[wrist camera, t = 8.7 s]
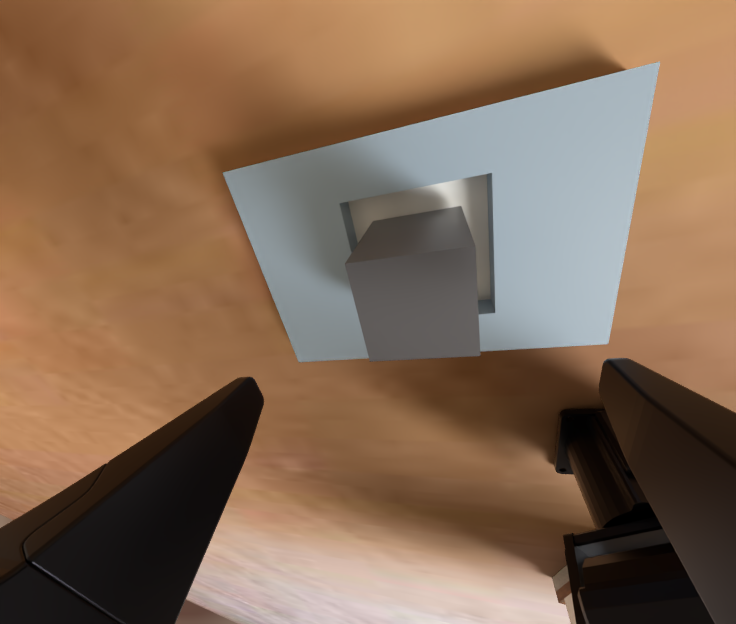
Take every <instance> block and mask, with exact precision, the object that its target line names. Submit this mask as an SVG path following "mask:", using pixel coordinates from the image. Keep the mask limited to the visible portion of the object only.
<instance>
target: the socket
mask: <svg viewBox="0 0 736 624" xmlns="http://www.w3.org/2000/svg"><path fill="white" fill-rule="evenodd" d="M659 65H660V62H656V63H652V64H648V65H644V66H641V67H637V68H633V69H629V70H625V71H621V72H617V73H613V74H609V75H605V76H601V77H597V78H593V79H589V80H585V81H581V82H577V83H574V84H570V85H566V86H562V87H558V88H554V89H550V90H546V91H542V92H538V93H534V94H530V95H526V96H522V97H518V98H514V99H510V100H506V101H503V102H499V103H495V104H491V105H487V106H483V107H479V108H475V109H471V110H467V111H463V112H459V113H455V114H451V115H447V116H443V117H439V118H435V119H432V120H428V121H424V122H420V123H416V124H412V125H408V126H404V127H400V128H396V129H392V130H388V131H384V132H380V133H376V134H372V135H368V136H364V137H361V138H357V139H353V140H349V141H345V142H341V143H337V144H333V145H329V146H325V147H321V148H317V149H313V150H309V151H305V152H301V153H297V154H294V155H290V156H286V157H282V158H278V159H274V160H270V161H266V162H262V163H258V164H254V165H250V166H246V167H242V168H238V169H234V170H230V171H226V172H223V175H224V177H225V180H226V182H227V185H228V187H229V190H230V192H231V195H232V197H233V200H234V202H235V205H236V207H237V210H238V212H239V215H240V217H241V220H242V222H243V225H244V227H245V230H246V232H247V235H248V237H249V240H250V242H251V245H252V247H253V250H254V252H255V255H256V257H257V260H258V262H259V265H260V267H261V270H262V272H263V275H264V277H265V280H266V282H267V285H268V287H269V290H270V292H271V295H272V297H273V299H274V302H275V304H276V307H277V309H278V312H279V314H280V317H281V319H282V322H283V324H284V327H285V329H286V332H287V334H288V337H289V339H290V342H291V344H292V347H293V349H294V352H295V354H296V357H297V359H298V362H312V361H329V360H346V359H363V358H369V356H368V352H367V348H366V345H365V341H364V337H363V333H362V329H361V325H360V321H359V317H358V313H357V310H356V306H355V302H354V298H353V294H352V290H351V286H350V282H349V279H348V275H347V271H346V267H345V263H346V261H347V260H348V258H349V257H350V255H351V253H352V252H353V250H354V249H355V247H356V246H357V244H358V243H359V241H360V240H361V238H362V237H363V235H364V234H365V232H366V231H367V229H368V228H369V226H370V225H371V223H372V222H373V221H376V220H382V219H387V218H393V217H399V216H405V215H411V214H417V213H422V212H428V211H434V210H440V209H446V208H451V207H457V206H461V207H462V210H463V212H464V215H465V218H466V221H467V224H468V226H469V229H470V232H471V235H472V237H473V240H474V243H475V246H476V268H477V290H478V312H479V334H480V352H481V351H498V350H515V349H532V348H549V347H566V346H583V345H599V344H608V342H609V337H610V332H611V326H612V321H613V315H614V310H615V304H616V299H617V293H618V288H619V283H620V277H621V272H622V266H623V261H624V255H625V250H626V244H627V239H628V234H629V228H630V223H631V217H632V212H633V206H634V201H635V195H636V190H637V185H638V179H639V174H640V168H641V163H642V157H643V152H644V146H645V141H646V136H647V130H648V125H649V119H650V114H651V108H652V103H653V97H654V92H655V87H656V81H657V76H658V70H659Z"/></svg>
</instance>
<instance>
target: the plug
mask: <svg viewBox="0 0 736 624" xmlns="http://www.w3.org/2000/svg"><path fill="white" fill-rule="evenodd" d="M345 267H346V271H347V275H348V279H349V282H350V286H351V290H352V294H353V298H354V302H355V306H356V310H357V313H358V317H359V321H360V325H361V329H362V333H363V337H364V341H365V345H366V348H367V352H368V356H369V360H370V362H371V361H391V360H410V359H430V358H450V357H469V356H480V334H479V312H478V290H477V268H476V246H475V243H474V240H473V237H472V235H471V232H470V229H469V226H468V224H467V221H466V218H465V215H464V212H463V210H462V207H461V206H457V207H451V208H446V209H440V210H434V211H428V212H422V213H417V214H411V215H405V216H399V217H393V218H387V219H382V220H376V221H373V222H372V223H371V225H370V226H369V228H368V229H367V231H366V232H365V234H364V235H363V237H362V238H361V240H360V241H359V243H358V244H357V246H356V247H355V249H354V250H353V252H352V253H351V255H350V257H349V258H348V260H347V261H346V263H345Z"/></svg>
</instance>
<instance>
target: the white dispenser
mask: <svg viewBox="0 0 736 624" xmlns="http://www.w3.org/2000/svg"><path fill="white" fill-rule="evenodd" d="M552 579H553V583H554V587H555V590H556V594H557V598H558V602H559V603H562V604H565V605H566V607H567V611H568V614H569V618H570V622H571V624H576V619H575V613H574V607H573V600H572V594H571V588H570V581H569V575H568V568H567V565H566V566H565V567H564V568H563V569H562V570H560V571H559V572H558V573H557V574H556V575H555V576H554V577H552Z"/></svg>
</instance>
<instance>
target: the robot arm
mask: <svg viewBox="0 0 736 624" xmlns="http://www.w3.org/2000/svg"><path fill="white" fill-rule="evenodd" d="M599 394H600V397H601V400H602V402H603V405H604V407H605V409H576V410H564V411H562V412H561V413H560V414H559V422H558V431H557V441H556V450H555V459H554V467H555V470H556V472H557V473H560V474H574V476H575V478H576V481H577V483H578V485H579V488H580V490H581V493H582V495H583V498H584V500H585V503H586V505H587V508H588V510H589V513H590V515H591V517H592V520H593V522H594V525H595V527H596V530H591V531H587V532H583V533H578V534H573V533H569V534H565V535H563V538H564V544H565V556H566V562H567V568H568V575H569V581H570V588H571V594H572V600H573V607H574V613H575V619H576V624H736V413H735V412H733V411H731V410H729V409H727V408H725V407H723V406H721V405H719V404H717V403H715V402H713V401H711V400H709V399H708V398H706V397H704V396H702V395H700V394H698V393H696V392H694V391H692V390H690V389H688V388H686V387H684V386H682V385H680V384H678V383H676V382H674V381H672V380H670V379H668V378H666V377H664V376H662V375H660V374H658V373H656V372H654V371H652V370H651V369H649V368H647V367H645V366H643V365H641V364H639V363H637V362H635V361H633V360H631V359H628V358H614V359H607V360H605V361H604V363H603V366H602V372H601V377H600V383H599ZM263 405H264V398H263V395H262V393H261V391H260V389H259V387H258V385H257V383H256V381H255V380H254V379H253V378H252V377H240V378H237V379H235V380H234V381H232V382H231V383H229V384H228V385H226V386H225V387H223V388H221V389H220V390H218V391H217V392H215V393H214V394H212V395H211V396H209V397H208V398H206V399H204V400H203V401H201V402H200V403H198V404H197V405H195V406H194V407H192V408H191V409H189V410H187V411H186V412H184V413H183V414H181V415H180V416H178V417H177V418H175V419H174V420H172V421H170V422H169V423H167V424H166V425H164V426H163V427H161V428H160V429H158V430H157V431H155V432H153V433H152V434H150V435H149V436H147V437H146V438H144V439H143V440H141V441H139V442H138V443H136V444H135V445H133V446H132V447H130V448H129V449H127V450H126V451H124V452H122V453H121V454H119V455H118V456H116V457H115V458H113V459H112V460H110V461H109V462H108V463H106V464H104V465H102V466H101V467H99V468H98V469H96V470H95V471H93V472H91V473H90V474H88V475H87V476H85V477H84V478H82V479H80V480H79V481H77V482H76V483H74V484H72V485H71V486H69V487H68V488H66V489H65V490H63V491H61V492H60V493H58V494H56V495H55V496H53V497H51V498H50V499H48V500H46V501H45V502H43V503H42V504H40V505H38V506H37V507H35V508H33V509H32V510H30V511H28V512H27V513H25V514H23V515H21V516H20V517H18V518H16V519H15V520H13V521H11V522H10V523H8V524H6V525H5V526H3V527H1V528H0V624H175V623H176V620H177V618H178V616H179V613H180V611H181V609H182V606H183V604H184V602H185V599H186V597H187V595H188V592H189V590H190V588H191V585H192V583H193V581H194V578H195V576H196V574H197V571H198V569H199V567H200V564H201V562H202V560H203V557H204V555H205V553H206V550H207V548H208V546H209V543H210V541H211V539H212V536H213V534H214V532H215V529H216V527H217V525H218V522H219V520H220V518H221V515H222V513H223V511H224V508H225V506H226V503H227V501H228V499H229V496H230V494H231V492H232V489H233V487H234V485H235V482H236V480H237V478H238V475H239V473H240V471H241V468H242V466H243V464H244V461H245V459H246V456H247V454H248V451H249V448H250V445H251V442H252V439H253V436H254V433H255V430H256V427H257V424H258V420H259V417H260V414H261V411H262V408H263Z"/></svg>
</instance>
